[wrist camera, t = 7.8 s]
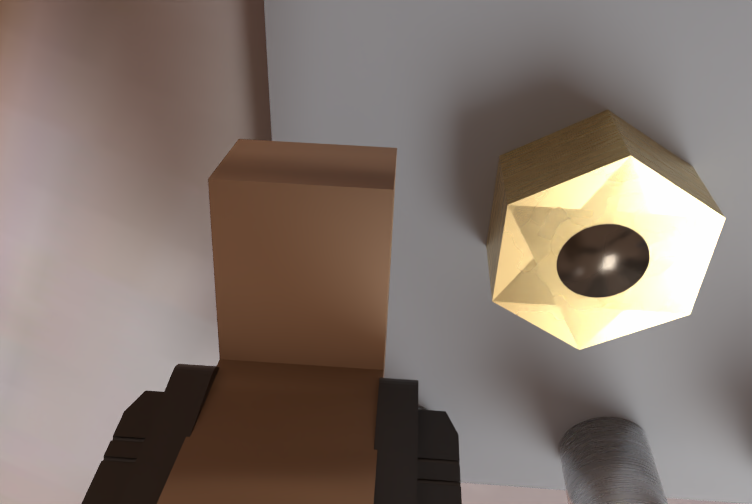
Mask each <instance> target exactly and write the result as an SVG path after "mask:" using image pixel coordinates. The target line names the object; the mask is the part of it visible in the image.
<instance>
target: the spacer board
mask: <svg viewBox="0 0 752 504" xmlns="http://www.w3.org/2000/svg"><path fill="white" fill-rule="evenodd" d="M264 12H265V29H266V47H267V64H268V82H269V99H270V117H271V134H272V141H283V142H301V143H319V144H337V145H354V146H372V147H390V148H397V159H396V177H395V195H394V212H393V230H392V248H391V265H390V283H389V301H388V319H387V336H386V354H385V372H384V378H394V379H409V380H418V405H419V406H422V407H424V408H426V409H428V410H434V411H446V413H447V414H448V416H449V418H450V420H451V422H452V424H453V425H454V427H455V429H456V431H457V433H458V435H459V457H460V462H459V465H460V479H461V483H474V484H487V485H501V486H514V487H528V488H541V489H554V490H566V487H565V482H564V476H563V471H562V465H561V460H560V454H559V444H560V441H561V439H562V437H563V436H564V434H565V433H566V432H567V431H568V430H569V429H571V428H572V427H573V426H575V425H577V424H579V423H581V422H583V421H586V420H589V419H593V418H599V417H616V418H622V419H626V420H629V421H631V422H633V423H635V424H637V425H638V426H639V427H640V428H642V430H643V431H644V432H645V434H646V436H647V439H648V442H649V445H650V448H651V451H652V454H653V458H654V461H655V464H656V467H657V470H658V474H659V477H660V480H661V483H662V486H663V490H664V493H665V496H666V498H675V499H689V500H702V501H715V502H729V503H742V504H752V0H264ZM605 110H610V111H611V112H612V113H614V114H615V115H617V116H618V117H620V118H621V119H623V120H624V121H626V122H627V123H629V124H630V125H632V126H633V127H635V128H636V129H638V130H639V131H641V132H642V133H644V134H645V135H647V136H648V137H650V138H651V139H652V140H654V141H655V142H657V143H658V144H660V145H661V146H663V147H664V148H666V149H667V150H669V151H670V152H672V153H673V154H675V155H676V156H678V157H679V158H681V159H682V160H684V161H685V162H687V163H688V164H690V165H691V166H693V168H694V169H695V171H696V172H697V174H698V175H699V177H700V179H701V180H702V182H703V183H704V185H705V187H706V188H707V190H708V191H709V193H710V195H711V196H712V198H713V199H714V201H715V202H716V204H717V206H718V207H719V209H720V210H721V212H722V214H723V215H724V217H725V221H724V223H723V226H722V229H721V231H720V234H719V237H718V240H717V242H716V245H715V248H714V250H713V253H712V256H711V259H710V261H709V264H708V267H707V269H706V272H705V275H704V278H703V280H702V283H701V286H700V288H699V291H698V294H697V297H696V299H695V302H694V305H693V307H692V310H691V313H690V315H687V316H684V317H680V318H677V319H674V320H671V321H668V322H665V323H662V324H659V325H655V326H652V327H649V328H646V329H643V330H640V331H637V332H634V333H630V334H627V335H624V336H621V337H618V338H615V339H612V340H609V341H606V342H602V343H599V344H596V345H593V346H590V347H587V348H584V349H581V350H579V349H577V348H575V347H573V346H572V345H570V344H568V343H566V342H564V341H563V340H561V339H559V338H557V337H555V336H554V335H552V334H550V333H548V332H546V331H545V330H543V329H541V328H539V327H537V326H536V325H534V324H532V323H530V322H528V321H527V320H525V319H523V318H521V317H519V316H518V315H516V314H514V313H512V312H510V311H509V310H507V309H505V308H503V307H501V306H500V305H498V304H496V303H494V302H492V295H491V286H490V277H489V268H488V258H487V249H486V244H487V238H488V231H489V224H490V217H491V210H492V203H493V197H494V190H495V183H496V176H497V169H498V162H499V156H500V155H502V154H504V153H507V152H509V151H511V150H514V149H516V148H518V147H521V146H523V145H525V144H528V143H530V142H532V141H535V140H537V139H540V138H542V137H544V136H547V135H549V134H551V133H554V132H556V131H558V130H561V129H563V128H565V127H568V126H570V125H572V124H575V123H577V122H580V121H582V120H584V119H587V118H589V117H591V116H594V115H596V114H598V113H601V112H603V111H605Z"/></svg>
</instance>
